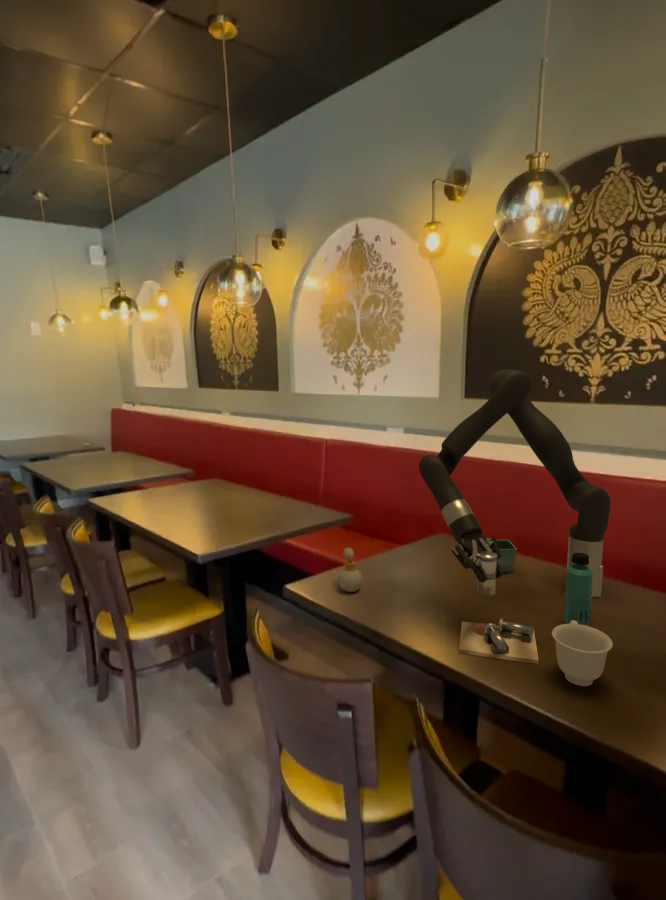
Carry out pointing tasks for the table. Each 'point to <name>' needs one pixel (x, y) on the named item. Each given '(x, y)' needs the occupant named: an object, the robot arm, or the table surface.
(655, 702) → the table surface
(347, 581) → the perfume bottle
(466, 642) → the base board
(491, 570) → the disc
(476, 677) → the table surface
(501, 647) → the shaft
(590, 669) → the teacup
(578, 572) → the beverage bottle
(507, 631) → the shaft
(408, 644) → the table surface
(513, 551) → the flower pot
